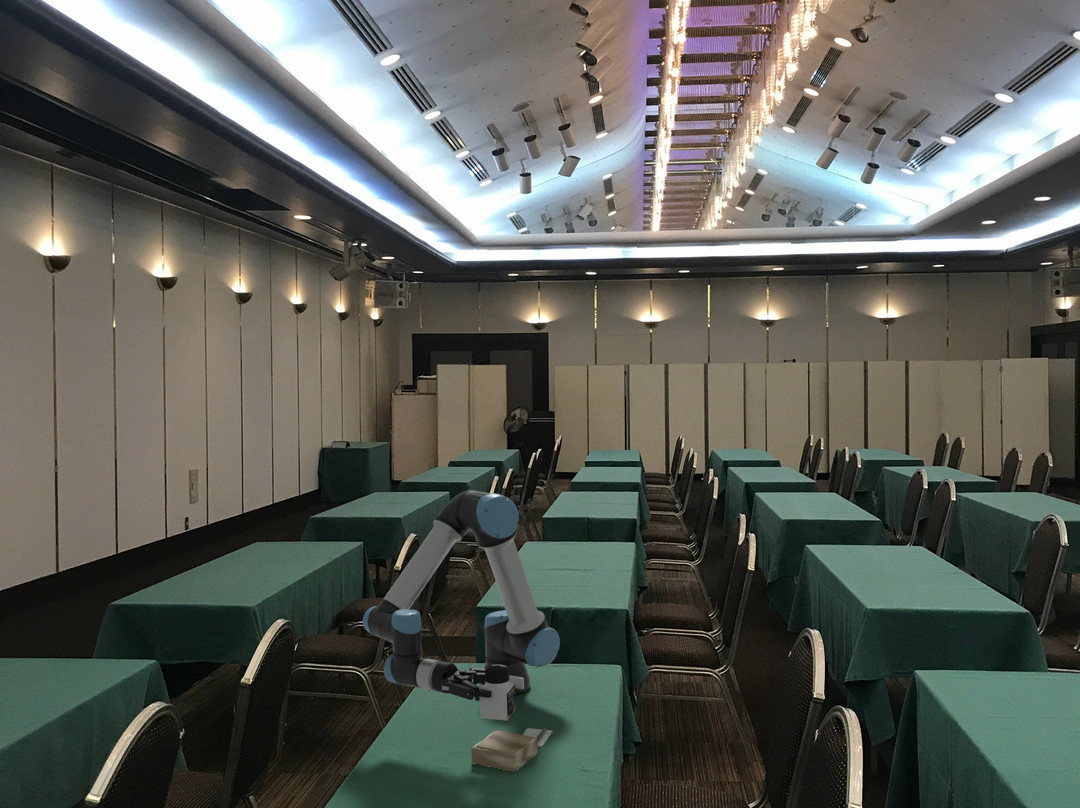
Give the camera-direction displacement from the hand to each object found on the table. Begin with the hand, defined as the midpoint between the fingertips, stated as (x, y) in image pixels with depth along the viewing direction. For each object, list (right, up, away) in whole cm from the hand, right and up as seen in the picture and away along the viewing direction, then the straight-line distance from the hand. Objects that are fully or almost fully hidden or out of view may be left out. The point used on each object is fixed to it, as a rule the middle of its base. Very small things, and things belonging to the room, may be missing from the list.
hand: (513, 689), depth 224 cm
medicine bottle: (-4, -7, +3) cm, 9 cm away
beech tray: (-2, -18, +3) cm, 18 cm away
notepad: (+5, -18, +15) cm, 24 cm away
